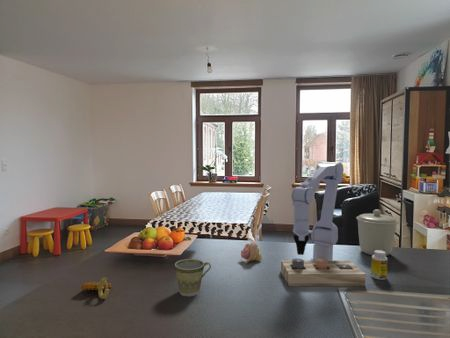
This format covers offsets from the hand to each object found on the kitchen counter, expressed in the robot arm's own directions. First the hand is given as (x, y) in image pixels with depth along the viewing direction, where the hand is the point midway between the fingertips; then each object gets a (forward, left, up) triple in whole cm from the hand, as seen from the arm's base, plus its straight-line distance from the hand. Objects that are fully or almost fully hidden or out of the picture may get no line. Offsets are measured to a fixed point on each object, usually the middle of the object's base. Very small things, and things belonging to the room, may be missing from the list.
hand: (300, 254), depth 125 cm
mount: (0, +8, -10) cm, 12 cm away
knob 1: (0, -1, -6) cm, 6 cm away
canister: (-30, +44, -10) cm, 54 cm away
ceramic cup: (+11, -40, -10) cm, 42 cm away
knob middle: (0, +8, -6) cm, 10 cm away
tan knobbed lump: (-19, -17, -10) cm, 27 cm away
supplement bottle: (-1, +31, -10) cm, 33 cm away
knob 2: (0, +17, -8) cm, 19 cm away
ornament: (+12, -72, -10) cm, 74 cm away
